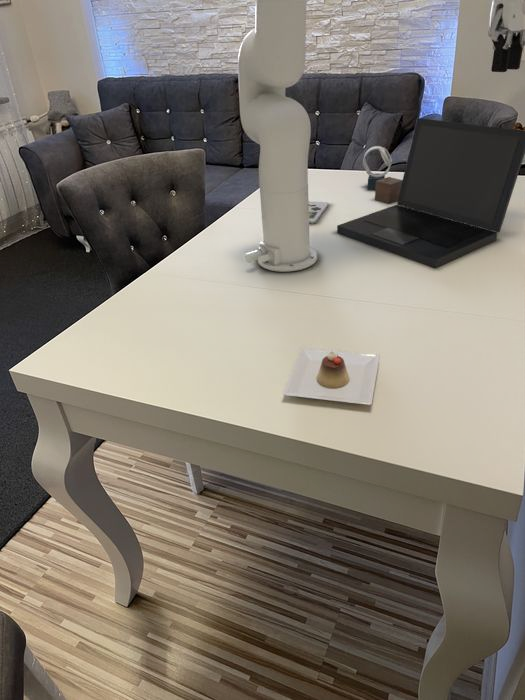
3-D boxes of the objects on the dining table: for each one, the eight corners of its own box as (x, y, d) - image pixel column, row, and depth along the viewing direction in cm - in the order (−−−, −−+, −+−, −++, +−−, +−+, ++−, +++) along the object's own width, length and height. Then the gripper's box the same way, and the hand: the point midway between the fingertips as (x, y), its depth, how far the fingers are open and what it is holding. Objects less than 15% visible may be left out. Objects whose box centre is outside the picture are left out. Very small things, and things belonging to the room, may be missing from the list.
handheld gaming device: (329, 201, 142) (315, 220, 130) (329, 204, 142) (315, 223, 130) (297, 200, 144) (280, 219, 133) (297, 203, 145) (280, 222, 133)
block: (389, 203, 139) (390, 184, 137) (374, 199, 143) (375, 180, 140) (402, 199, 142) (403, 180, 139) (387, 195, 145) (388, 176, 142)
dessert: (371, 411, 70) (372, 381, 67) (282, 400, 73) (280, 372, 71) (379, 360, 80) (381, 333, 77) (300, 353, 83) (299, 326, 80)
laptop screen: (529, 131, 105) (531, 131, 106) (416, 117, 125) (419, 118, 125) (497, 232, 113) (499, 232, 114) (396, 204, 133) (398, 204, 133)
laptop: (435, 268, 105) (436, 259, 104) (337, 232, 124) (337, 225, 123) (496, 240, 114) (497, 231, 113) (395, 211, 134) (396, 204, 133)
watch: (390, 190, 149) (392, 149, 143) (361, 190, 151) (362, 149, 145) (391, 184, 153) (393, 144, 147) (363, 184, 155) (364, 144, 149)
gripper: (515, -42, 92) (497, 76, 102) (566, -44, 100) (545, 66, 110) (477, -37, 98) (464, 75, 108) (528, -40, 105) (512, 65, 115)
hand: (505, 69), depth 109 cm, fingers open, 3 cm apart
